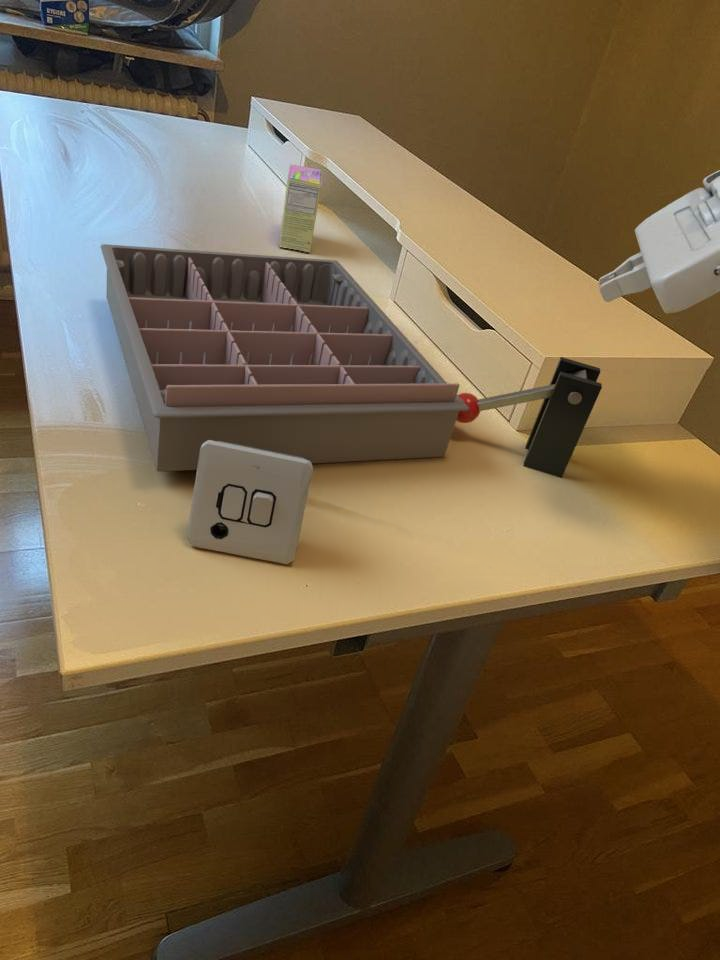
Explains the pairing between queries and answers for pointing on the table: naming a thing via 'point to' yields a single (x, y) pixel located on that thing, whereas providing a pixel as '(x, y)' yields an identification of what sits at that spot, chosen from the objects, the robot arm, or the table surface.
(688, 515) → the table surface
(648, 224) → the robot arm
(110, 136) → the table surface
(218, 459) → the electrical switch
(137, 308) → the organizer tray
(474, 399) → the switch lever
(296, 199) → the box
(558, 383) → the switch bracket
